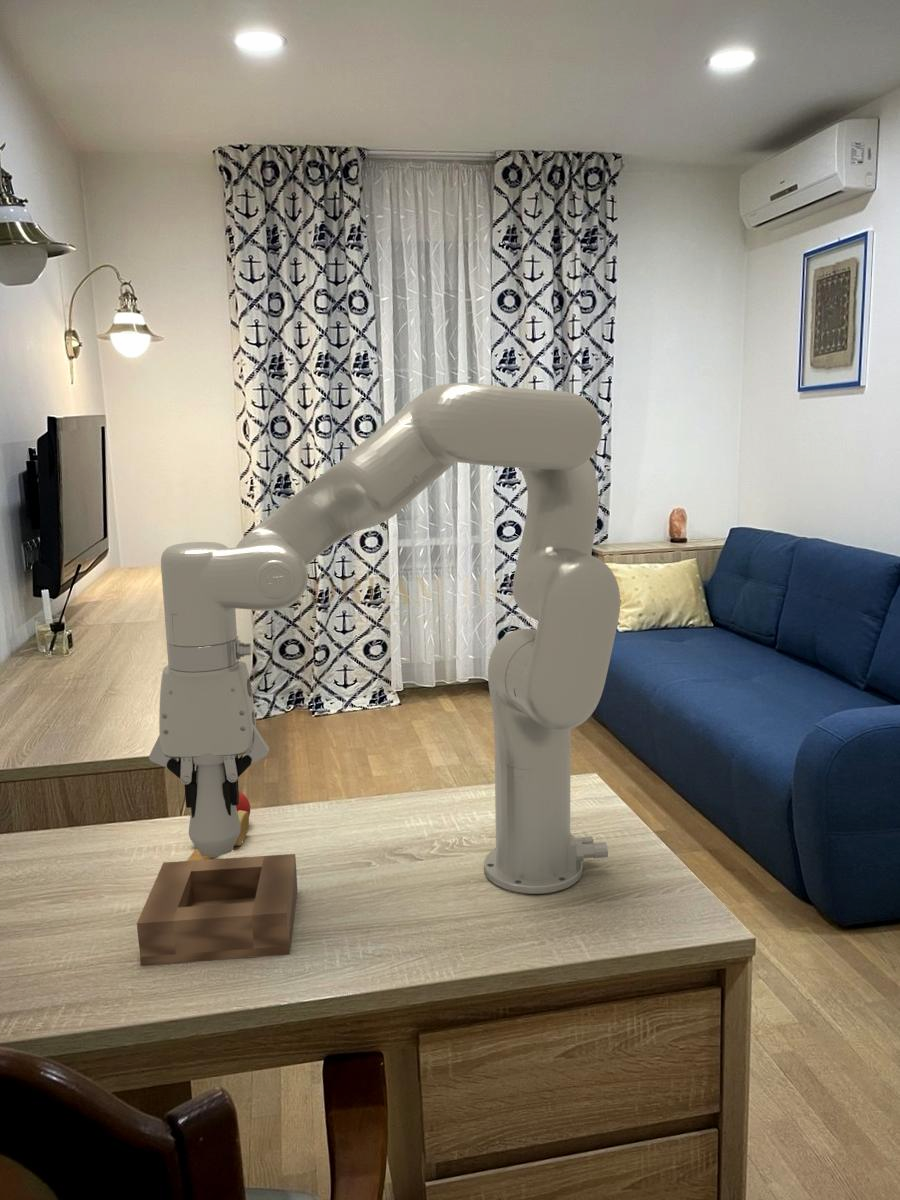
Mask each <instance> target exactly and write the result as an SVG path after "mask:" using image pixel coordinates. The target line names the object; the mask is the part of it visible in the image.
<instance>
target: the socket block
mask: <svg viewBox="0 0 900 1200" xmlns="http://www.w3.org/2000/svg"><path fill="white" fill-rule="evenodd" d="M297 875H298V873H297V859H296V853H289V854H273V855H258V856H255V855H254V856H244V857H242V856H241V857H226V858H214V859H213V858H211V859H209V860H194V861H187V860H181V861H179V860H178V861H167V862H165V861H164V862H162V864H161V867H160V868H159V871H158V874H157V876H156V879H155V881H154V883H153V885H152V887H151V890H150V891H149V895H148V897H147V899H146V902H145V903H144V905H143V906H144V907H143V908H142V911H141V912H140V915H139V918H138V919H137V922H136V927H137V928H136V929H137V939H138V949H139V950H138V951H139V958H140V966H149V965H150V966H151V965H161V964H176V963H177V964H178V963H189V962H190V963H191V962H202V961H203V962H204V961H216V960H217V961H218V960H228V959H229V960H231V959H241V958H256V957H269V956H272V957H273V956H281V955H282V956H283V955H284V956H285V955H290V954H291V953H290V952H291V946H292V945H291V944H292V936H293V930H294V929H293V928H294V920H295V914H296V908H297V905H296V904H297V898H298V892H297V891H298V877H297Z"/></svg>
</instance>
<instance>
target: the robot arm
mask: <svg viewBox="0 0 900 1200" xmlns="http://www.w3.org/2000/svg"><path fill="white" fill-rule="evenodd" d="M602 430H603V429H602V423H601V418H600V416H599V413H598V411H597V410H596V408H595V406H594V405H593V404H592V403H591V402H590V401H589V400H588V399H586V398H585V397H583V396H581V395H579V394H577V393H575V392H570V391H560V390H548V389H547V390H546V389H536V388H523V387H510V386H503V385H502V386H500V385H493V384H482V383H474V382H454V383H442V384H438V385H435V386H431V387H429V388H427V389H425V390H424V391H423V392H422V393H420V394H419V395H417V396H416V397H414V399H412V400H411V401H410V402H409V403H407V404H406V405H405V406H403V408H402V409H400V410H399V411H398V412H396V413H395V414H394V415H393V416H392V417H390V419H389V420H387V421H386V422H385V423H384V424H382V426H380V428H378V429H377V430H376V431H375V432H373V433H372V434H371V435H370V436H369V437H367V438H366V439H365V440H364V441H362V442H361V443H360V444H359V445H358V446H357V447H355V448H354V449H353V450H352V451H350V452H349V453H348V454H347V455H345V457H343V458H341V459H340V461H338V462H337V463H335V464H334V465H332V466H331V467H329V468H328V469H327V470H326V471H324V472H322V473H321V475H320V476H318V477H317V478H316V479H315V480H313V481H312V482H311V483H309V484H308V485H306V486H305V487H304V488H302V489H301V490H299V491H298V492H297V493H295V494H294V495H293V496H292V497H290V498H289V499H288V500H286V501H285V502H283V504H281V505H280V506H279V507H277V508H276V509H275V510H274V511H273V512H271V513H270V514H269V515H268V516H267V517H265V519H263V520H262V521H261V522H260V523H259V524H257V525H256V526H255V527H253V529H252V530H250V531H249V532H248V533H247V534H245V536H243V538H241V540H240V541H239V542H238V544H236V546H235V547H228V546H226V545H225V544H223V543H218V542H214V541H213V542H211V541H193V542H192V541H191V542H183V543H177V544H172V545H170V546H168V547H167V548H165V549H164V551H163V552H162V553H161V554H162V555H161V556H160V557H161V558H160V570H161V571H160V573H161V584H162V597H163V609H164V623H165V624H164V625H165V639H166V653H167V654H166V655H167V665H166V666H164V667H163V670H162V675H161V682H160V688H159V689H160V692H159V715H158V716H159V717H158V719H159V720H158V721H159V723H158V724H159V727H158V728H159V731H158V732H159V735H158V737H157V739H156V742H155V743H154V745H153V747H152V750H151V752H150V754H149V755H148V759H149V762H152V763H154V764H156V765H159V766H161V767H165V768H167V770H169V771H170V773H172V774H174V775H175V776H176V777H177V778H179V779H180V783H181V784H183V785H184V793H185V794H184V795H185V797H184V798H185V807H186V809H187V808H188V809H190V815H191V814H192V818H193V817H194V816H195V810H196V799H197V783H196V765H195V764H194V763H193V761H192V758H194V757H198V756H201V755H202V754H207V753H211V754H212V755H214V756H223V758H224V764H225V770H226V775H225V780H226V781H225V783H223V796H224V799H225V805H226V809H227V812H228V814H229V815H230V816H231V804H232V805H238V804H239V792H240V791H239V789H240V788H239V778H240V777H241V775H243V773H244V772H246V770H248V768H249V767H250V766H251V765H252V764H254V763H257V762H259V761H260V760H262V759H263V758H265V757H267V756H268V754H269V751H270V747H269V745H268V743H266V740H264V738H263V735H261V733H260V732H259V729H258V728H257V724H256V722H257V721H256V713H255V712H256V711H255V705H254V694H253V689H252V682H251V678H250V673H249V670H248V666H247V663H246V662H244V661H242V660H241V658H244V657H245V656H252V644H251V643H245V642H241V640H240V639H239V635H238V633H237V632H238V630H237V617H236V613H237V612H236V610H237V609H238V610H253V611H254V610H255V611H269V612H270V611H271V612H272V611H273V612H274V611H279V610H284V609H287V608H290V606H292V605H294V604H296V603H297V602H298V601H299V600H300V599H301V598H302V597H303V595H304V593H305V591H306V589H307V586H308V581H309V574H308V569H307V566H308V565H309V564H310V563H311V562H313V561H314V560H315V559H316V558H317V557H319V555H321V554H323V553H324V552H325V551H326V550H328V549H330V547H332V546H333V545H335V544H336V543H338V542H340V541H341V540H343V539H344V538H346V537H348V536H350V535H352V534H355V533H357V532H360V531H362V530H367V529H370V528H373V527H376V526H379V525H380V524H382V523H385V522H386V521H388V520H390V519H391V518H393V517H394V516H395V515H397V514H398V513H399V512H400V511H401V510H402V509H403V508H405V507H406V506H407V505H408V504H409V503H410V502H411V501H412V500H414V498H416V497H417V496H418V495H419V494H421V493H422V492H423V491H424V490H425V489H426V488H427V487H429V486H430V485H431V484H432V483H433V482H434V481H436V480H437V479H438V478H439V477H441V476H442V475H443V474H444V473H446V472H447V470H450V468H451V467H452V466H454V465H455V464H456V463H462V464H471V465H478V466H479V465H481V466H490V467H501V468H515V469H517V468H519V470H520V472H521V473H522V474H521V475H522V476H523V478H524V483H525V485H526V491H527V502H526V503H527V504H526V514H525V520H524V521H525V522H524V527H523V531H522V537H521V542H520V545H519V552H518V556H517V561H516V566H515V570H514V575H513V580H512V581H513V582H512V594H513V595H512V596H513V599H514V601H515V603H516V605H517V607H518V608H519V609H520V610H521V611H522V612H523V613H525V614H526V615H527V616H528V617H530V618H531V619H533V620H535V621H537V625H536V626H537V627H536V629H534V628H520V629H519V628H518V629H516V630H513V631H511V632H509V633H507V634H505V635H504V636H502V638H500V639H499V641H498V642H497V643H496V644H495V646H494V647H493V649H492V652H491V654H490V657H489V660H488V666H487V680H488V681H487V682H488V689H489V698H490V703H491V709H492V720H493V731H494V733H493V734H494V735H493V737H494V738H493V739H494V794H495V796H494V802H495V807H494V808H495V848H494V849H493V850H491V851H490V852H489V853H488V854H487V855H485V858H484V861H483V863H484V864H483V865H484V867H483V870H484V874H485V876H486V877H487V879H489V881H490V882H491V883H493V884H495V885H496V886H497V887H500V888H502V889H504V890H507V891H511V892H516V893H520V894H530V895H534V894H536V895H541V894H549V893H552V894H553V893H556V892H560V891H562V890H565V889H568V888H569V887H571V886H574V885H575V884H576V883H578V882H579V880H580V879H581V877H582V876H583V862H584V860H585V859H603V858H608V856H609V855H608V854H609V849H608V844H607V842H606V841H600V842H599V841H598V842H594V839H593V836H582V837H575V835H572V832H571V757H572V750H571V749H572V748H571V747H572V744H571V742H572V741H571V740H572V739H571V729H574V728H577V727H579V726H580V725H582V724H583V723H585V722H586V721H587V720H588V719H589V718H590V717H591V716H592V715H593V713H594V712H595V710H596V709H597V706H598V705H599V703H600V700H601V697H602V694H603V691H604V688H605V685H606V679H607V674H608V671H609V666H610V661H611V657H612V656H611V655H612V653H613V648H614V643H615V638H616V634H617V633H616V632H617V629H618V624H619V617H620V612H621V593H620V587H619V583H618V580H617V578H616V576H615V573H614V572H613V571H612V569H611V568H610V567H609V566H608V565H607V564H606V563H605V562H604V561H602V560H601V559H600V558H598V557H596V556H594V555H592V552H593V547H594V540H595V534H596V533H595V532H596V528H597V527H596V526H597V520H598V512H599V503H600V502H599V498H600V497H599V486H598V480H597V476H596V473H595V469H594V467H593V465H592V461H591V460H590V459H591V458H592V457H593V456H594V454H595V453H596V451H597V450H598V448H599V445H600V443H601V440H602V435H603V434H602Z"/></svg>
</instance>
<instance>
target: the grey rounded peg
mask: <svg viewBox="0 0 900 1200" xmlns="http://www.w3.org/2000/svg"><path fill="white" fill-rule="evenodd" d="M192 761H193V763H194V764H195V765H196V783H197V799H196V810H195V816H194V817H193V818H192V814H191V813H190V817H189V818H190V819H189V826H188V836H189V840H190V841H191V842H192V844H193V845H194V847H195V849H196V848H197V849H198V851H199V852H200V854H201V856H211V857H212V858H213V857H214V858H218V857H220V856H223V855H226V854H229V853H232V851H233V850H234V847H235V846H236V845H235V843H236V840H237V838H238V836H239V834H240V829H241V827H240V821H239V816H238V812H237V808H236V805H232V804H231V816H230V815H229V814H228V812H227V809H226V805H225V799H224V796H223V783H225V781H226V780H225V775H226V770H225V764H224V758H223V756H214V755H212V754H211V753H207V754H202V755H201V756H198V757H194V758H192Z"/></svg>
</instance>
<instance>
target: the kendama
mask: <svg viewBox="0 0 900 1200" xmlns="http://www.w3.org/2000/svg"><path fill="white" fill-rule="evenodd" d="M248 799H249V798H248V797H246V795H245V794H244V793H243V792H241V791H239V804H238V805H236V808H237V812H238V816H239V821H240V827H241V829H240V834H239V836H238V838H237V840H236V843H235V845H234V846H237V847H240V845H241V844H242V841H244V842H245V840H246V837H247V834H248V831H249V824H250V816H251V815H250V814H251V805H250V801H249V800H248ZM242 845H243V844H242ZM242 845H241V846H242ZM209 859H213V857H211V856H201V854H200V852H199V851H198V849H197V848H196V847H195V849H194V850H193V852H192V853H191V855H190V856H189V857H188V859H186V861H194V860H209Z"/></svg>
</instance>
